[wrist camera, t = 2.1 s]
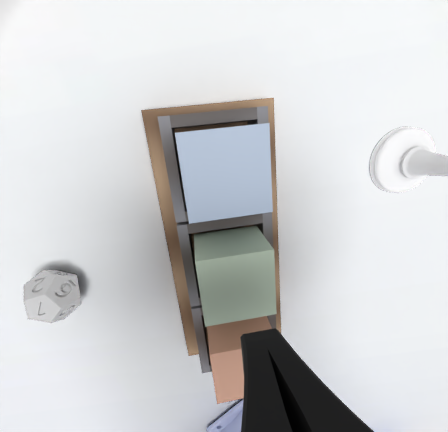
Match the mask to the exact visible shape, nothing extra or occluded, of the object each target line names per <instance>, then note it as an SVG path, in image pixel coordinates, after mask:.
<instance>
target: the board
mask: <svg viewBox="0 0 448 432" xmlns="http://www.w3.org/2000/svg"><path fill="white" fill-rule="evenodd" d="M141 111H142V116H143V121H144V126H145V131H146V137H147V142H148V147H149V152H150V157H151V163H152V168H153V173H154V178H155V183H156V188H157V194H158V199H159V204H160V209H161V214H162V220H163V225H164V230H165V235H166V240H167V245H168V251H169V256H170V261H171V266H172V271H173V277H174V282H175V287H176V292H177V297H178V302H179V308H180V313H181V318H182V323H183V328H184V333H185V339H186V344H187V349H188V354H189V356H191V355H196V354H199V357H200V363H201V368H202V373H206V372H211V371H212V367H211V361H210V354H209V343H208V332H207V327H205V322H204V316H203V310H202V303H201V297H200V290H199V284H198V278H197V271H196V265H195V250H194V234H201V233H208V232H215V231H222V230H229V229H236V228H243V227H250V226H257V227H258V228H259V230H260V231H261V232H262V234H263V235H264V236H265V238H266V239H267V241H268V242H269V243H270V245H271V246H272V247H273V249H274V258H275V285H276V311H277V314H274V315H268V316H267V318H268V320H269V323H270V325H271V327H272V329H274V328H276V329H277V330H278V331H279V332H280V333H281V317H280V285H279V253H278V221H277V190H276V158H275V126H274V98H266V99H255V100H245V101H234V102H224V103H213V104H203V105H192V106H182V107H171V108H161V109H150V110H141ZM264 123H269V125H270V152H271V179H272V205H273V212H269V213H262V214H255V215H248V216H241V217H233V218H226V219H219V220H212V221H205V222H198V223H190V224H189V220H188V214H187V207H186V201H185V195H184V188H183V182H182V176H181V169H180V163H179V156H178V150H177V144H176V137H175V133H178V132H187V131H197V130H207V129H216V128H226V127H235V126H245V125H254V124H264Z"/></svg>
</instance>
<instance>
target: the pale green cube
mask: <svg viewBox="0 0 448 432" xmlns="http://www.w3.org/2000/svg"><path fill="white" fill-rule="evenodd" d="M194 250H195V265H196V271H197V278H198V284H199V290H200V297H201V303H202V310H203V316H204V322H205V327H207V326H213V325H218V324H224V323H230V322H235V321H241V320H246V319H252V318H257V317H263V316H268V315H274V314H277V311H276V285H275V258H274V249H273V247H272V246H271V245H270V243H269V242H268V241H267V239H266V238H265V236H264V235H263V234H262V232H261V231H260V230H259V228H258V227H257V226H250V227H243V228H236V229H229V230H222V231H215V232H208V233H201V234H194Z"/></svg>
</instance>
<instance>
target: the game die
mask: <svg viewBox="0 0 448 432" xmlns="http://www.w3.org/2000/svg"><path fill="white" fill-rule="evenodd" d="M24 305H25V309H26V313H27V317H28V319H32V320H37V321H43V322H48V323H52V322H56V321H59V320H63V319H65V318H66V317H67V316H68V315H69V314H71V313H72V312H73V311H74V310H75V309H76V308H77V307H78V306H80V305H81V297H80V291H79V285H78V279H77V275H76V274H72V273H67V272H63V271H59V270H43V271H41V272H40V273H39V274H38V275H36V276H35V277H34V278H32V279H31V280H30V281H28V282H27V283H26V284H24Z"/></svg>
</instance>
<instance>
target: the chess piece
mask: <svg viewBox="0 0 448 432" xmlns="http://www.w3.org/2000/svg"><path fill="white" fill-rule="evenodd" d="M370 175H371V178H372V180H373V182H374V184H375V185H376V186H377V187H378V188H380V189H381V190H383V191H386V192H394V193H402V192H407V191H410V190H412V189H414V188H415V187H417V186H418V185H420V184H421V183H422V182H423V181H424V180H425V179H426V178H427V176H428V175H429V176H448V156H446V155H441V154H437V153H436V146H435V142H434V140H433V138H432V136H431V135H430V134H429V133H428V132H427V131H425V130H423V129H421V128H416V127H408V126H407V127H400V128H397V129H394V130H392V131H391V132H389V133H388V134H386V135H385V136H384V137H383V138H382V139H381V140H380V141H379V142H378V144H377V145H376V147H375V149H374V151H373V153H372V156H371V160H370Z"/></svg>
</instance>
